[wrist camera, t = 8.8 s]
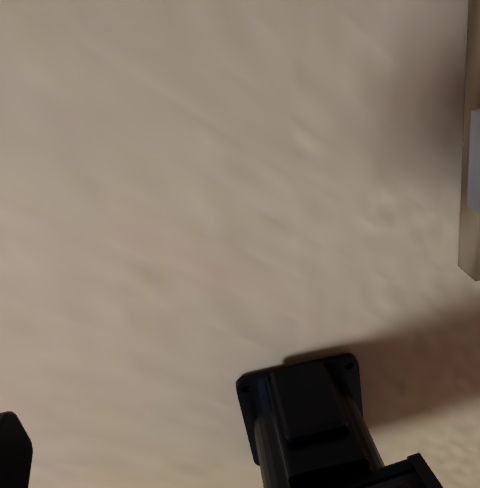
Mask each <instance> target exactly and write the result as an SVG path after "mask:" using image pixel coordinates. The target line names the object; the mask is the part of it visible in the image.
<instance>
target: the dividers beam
mask: <svg viewBox="0 0 480 488" xmlns="http://www.w3.org/2000/svg"><path fill="white" fill-rule="evenodd" d="M458 266H459V267H460V268H461V269H462V270H463V271H464V272H465V273H467V274H468V275H469V276H470V277H471V278H472V279H473V280H475V281H479V280H480V0H469V6H468V31H467V56H466V81H465V106H464V131H463V156H462V181H461V206H460V231H459V256H458Z"/></svg>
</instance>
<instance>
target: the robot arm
mask: <svg viewBox="0 0 480 488" xmlns="http://www.w3.org/2000/svg"><path fill="white" fill-rule="evenodd" d="M348 362H350V364H347V365H345V364H346V363H348ZM245 385H248V387H243V386H245ZM236 391H237V395H238V399H239V403H240V407H241V411H242V415H243V419H244V423H245V427H246V431H247V435H248V439H249V443H250V447H251V451H252V455H253V459H254V462H255V464H257V465H259V466H260V469H261V475H262V480H263V486H264V488H443V487H442V485H441V484H440V482H439V481H438V479H437V478H436V476H435V475H434V473H433V472H432V471H431V469H430V468H429V466H428V465H427V463H426V462H425V460H424V459H423V457H422V456H421V454H420V453H417V454H414V455H411V456H408V457H407V459H406V460H403V461H400V462H397V463H394V464H391V465H388V466H385V465H384V463H383V461H382V459H381V457H380V454H379V452H378V450H377V448H376V446H375V443H374V441H373V439H372V437H371V435H370V433H369V430H368V428H367V426H366V424H365V422H364V419H363V411H362V399H361V387H360V375H359V364H358V361H357V359H356V357H355V356H354V355H353V354H350V353H347V354H342V355H337V356H333V357H328V358H324V359H319V360H315V361H311V362H306V363H302V364H297V365H293V366H288V367H284V368H279V369H275V370H270V371H266V372H261V373H257V374H252V375H248V376H243V377H241V378H239V379H238V380H237V381H236ZM32 455H33V448H32V443H31V440H30V438H29V436H28V435H27V433H26V431H25V429H24V428H23V426H22V424H21V422H20V420H19V419H18V417H17V415H16V414H15V413H14V412H11V411H7V412H2V413H0V488H28V484H29V477H30V470H31V463H32Z"/></svg>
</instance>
